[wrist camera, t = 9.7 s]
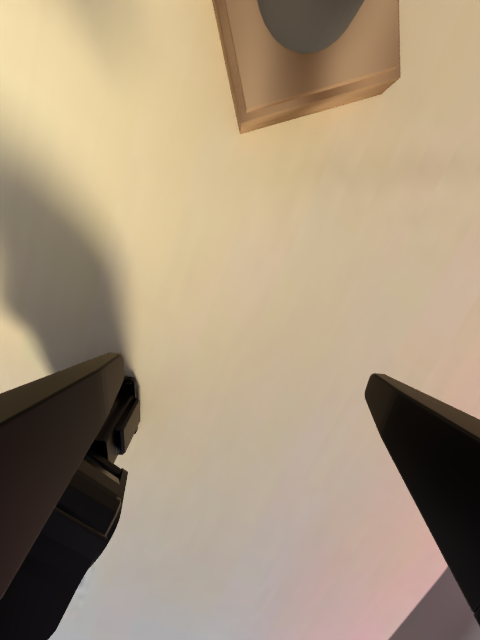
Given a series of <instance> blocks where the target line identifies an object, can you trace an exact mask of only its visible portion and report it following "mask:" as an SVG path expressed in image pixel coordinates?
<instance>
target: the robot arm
mask: <svg viewBox="0 0 480 640" xmlns="http://www.w3.org/2000/svg"><path fill="white" fill-rule="evenodd" d="M128 382H131V383H132V384H129V383H128ZM365 399H366V402H367V404H368V407H369V409H370V412H371V414H372V417H373V419H374V422H375V424H376V427H377V429H378V431H379V434H380V436H381V438H382V440H383V442H384V444H385V446H386V448H387V450H388V452H389V454H390V456H391V457H392V459H393V461H394V463H395V465H396V467H397V469H398V471H399V473H400V475H401V477H402V478H403V480H404V482H405V484H406V486H407V488H408V490H409V492H410V494H411V496H412V498H413V500H414V501H415V503H416V505H417V507H418V509H419V511H420V513H421V515H422V517H423V519H424V521H425V522H426V524H427V526H428V528H429V530H430V532H431V534H432V536H433V538H434V540H435V542H436V544H437V545H438V547H439V549H440V551H441V553H442V555H443V557H444V559H445V561H446V563H447V565H448V566H449V568H450V570H451V572H452V574H453V576H454V578H455V580H456V582H457V584H458V586H459V587H460V589H461V591H462V593H463V595H464V597H465V599H466V601H467V603H468V605H469V606H470V608H471V610H472V612H474V617H475V619H476V620H477V622H478V624H479V626H480V420H479V419H477V418H475V417H473V416H471V415H469V414H467V413H465V412H463V411H460V410H458V409H456V408H454V407H452V406H450V405H448V404H446V403H444V402H442V401H439V400H437V399H435V398H433V397H431V396H429V395H427V394H425V393H423V392H421V391H418V390H416V389H414V388H412V387H410V386H408V385H406V384H404V383H402V382H400V381H397V380H395V379H393V378H391V377H389V376H387V375H385V374H376V373H374V374H372V375H371V376H370V378H369V381H368V384H367V387H366V390H365ZM139 422H140V400H139V399H138V398H137V391H136V380H135V379H134V378H132V377H124V363H123V356H122V354H119V353H107V354H105V355H102V356H99V357H97V358H94V359H91V360H89V361H86V362H83V363H81V364H78V365H75V366H73V367H70V368H67V369H65V370H62V371H59V372H57V373H54V374H51V375H49V376H46V377H43V378H41V379H38V380H35V381H33V382H30V383H27V384H25V385H22V386H19V387H17V388H14V389H12V390H9V391H6V392H4V393H1V394H0V640H48V639H49V638H50V636H51V635H52V634H53V633H54V632H55V630H56V629H57V627H58V625H59V623H60V621H61V619H62V617H63V615H64V613H65V611H66V609H67V607H68V605H69V603H70V601H71V599H72V597H73V595H74V593H75V591H76V589H77V588H78V586H79V584H80V582H81V580H82V578H83V577H84V575H85V573H86V572H87V570H88V569H89V568H90V567H91V566H92V565H93V563H94V562H95V561H96V560H97V559H98V557H99V556H100V555H101V553H102V552H103V550H104V549H105V547H106V546H107V544H108V542H109V541H110V539H111V537H112V535H113V533H114V531H115V529H116V527H117V524H118V521H119V518H120V514H121V509H122V503H123V497H124V492H125V486H126V480H127V475H128V472H127V471H126V470H124V469H123V468H122V469H120V468H119V467H117V466H116V465H115V464H114V462H115V460H116V458H117V456H118V455H123V454H124V453H125V452H126V450H127V448H128V446H129V444H130V441H131V439H132V437H133V435H134V434H135V433H136V432H137V430H138V424H139Z"/></svg>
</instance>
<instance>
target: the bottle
mask: <svg viewBox="0 0 480 640" xmlns="http://www.w3.org/2000/svg"><path fill="white" fill-rule="evenodd" d="M257 1H258V6H259V10H260V13H261V16H262V18H263V21H264V23H265V25H266V27H267V28H268V30H269V32H270V33H271V35H272V36H273V37H274V38H275V39H276V41H278V42H279V43H280V44H281V45H282V46H284V47H285V48H287V49H289V50H292V51H294V52H297V53H314V52H318V51H321V50H323V49H325V48H327V47H328V46H330V45H331V44H332V43H334V42H335V41H336V40H337V39H338V38H339V37H340V36H341V35H342V34H343V33H344V32H345V30H346V29H347V28H348V26H349V25H350V23H351V22H352V20H353V19H354V17H355V16H356V14H357V12H358V11H359V9H360V7H361V6H362V4H363V2H364V1H365V0H257Z"/></svg>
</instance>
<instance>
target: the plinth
mask: <svg viewBox="0 0 480 640" xmlns="http://www.w3.org/2000/svg"><path fill="white" fill-rule="evenodd" d="M212 2H213V6H214V11H215V16H216V21H217V26H218V30H219V35H220V40H221V45H222V50H223V54H224V59H225V64H226V69H227V74H228V78H229V83H230V88H231V93H232V98H233V102H234V107H235V112H236V117H237V122H238V126H239V131H240V134H242V133H245V132H249V131H252V130H256V129H259V128H263V127H266V126H270V125H273V124H277V123H281V122H284V121H288V120H291V119H295V118H298V117H302V116H305V115H309V114H312V113H316V112H319V111H323V110H327V109H330V108H334V107H337V106H341V105H344V104H348V103H351V102H355V101H358V100H362V99H365V98H369V97H372V96H376V95H380V94H382V93H383V92H384V91H385V90H387V89H388V88H389V87H390V86H391V85H392V84H393V83H394V82H396V81H397V80H398V79H399V78H400V33H399V0H365V1H364V2H363V4H362V6H361V7H360V9H359V11H358V12H357V14H356V16H355V17H354V19H353V20H352V22H351V23H350V25H349V26H348V28H347V29H346V30H345V32H344V33H343V34H342V35H341V36H340V37H339V38H338V39H337V40H336V41H335V42H334V43H332V44H331V45H330V46H328V47H327V48H325V49H323V50H321V51H318V52H314V53H297V52H294V51H292V50H289V49H287V48H285V47H284V46H282V45H281V44H280V43H279V42H278V41H276V39H275V38H274V37H273V36H272V35H271V33H270V32H269V30H268V28H267V27H266V25H265V23H264V21H263V18H262V16H261V13H260V10H259V6H258V1H257V0H212Z"/></svg>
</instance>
